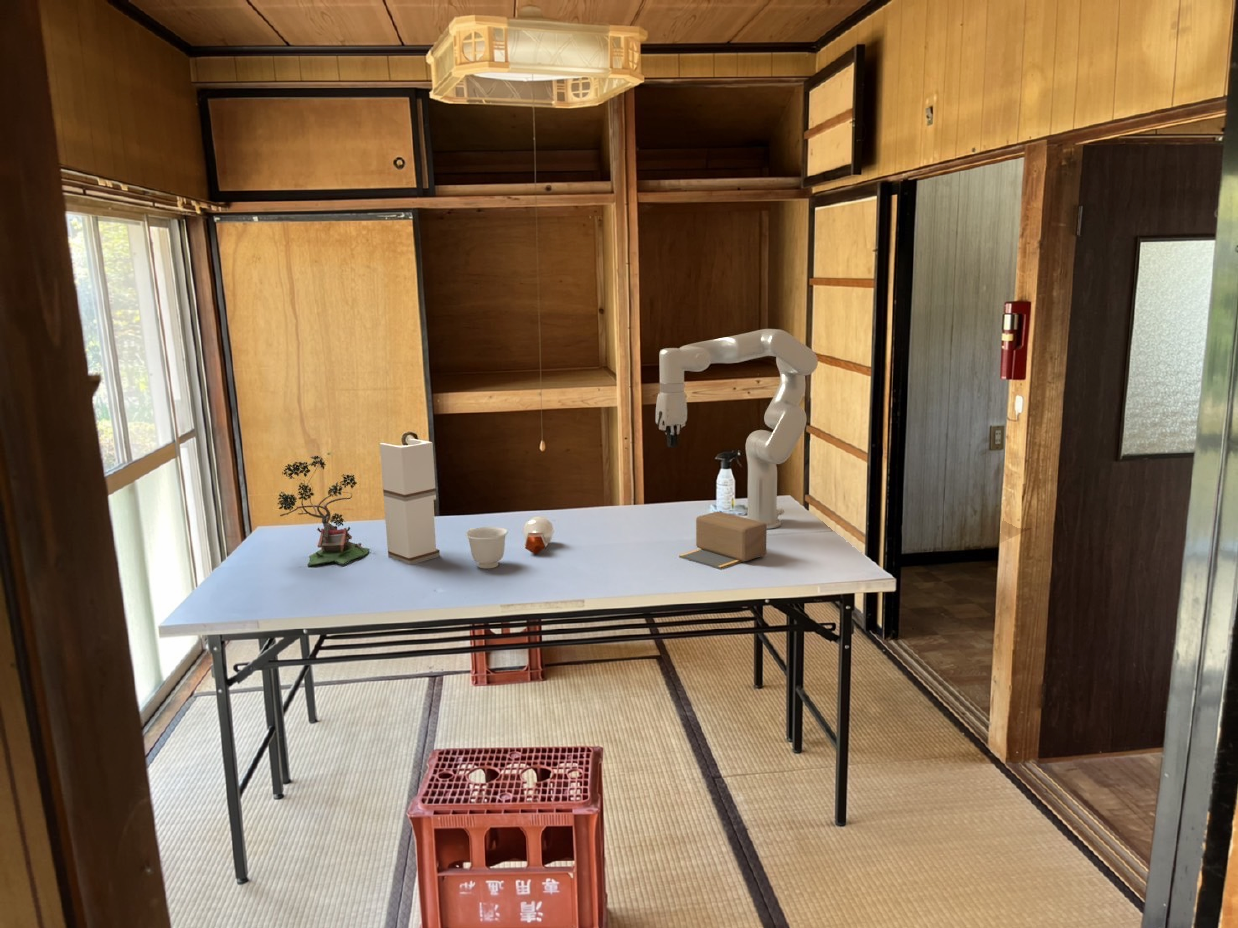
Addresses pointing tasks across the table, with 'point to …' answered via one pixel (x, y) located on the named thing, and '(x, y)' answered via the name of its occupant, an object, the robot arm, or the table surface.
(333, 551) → the bonsai tree
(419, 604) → the table surface
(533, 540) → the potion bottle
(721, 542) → the block
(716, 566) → the mat
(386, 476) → the white banded pillar
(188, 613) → the table surface
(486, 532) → the teacup
